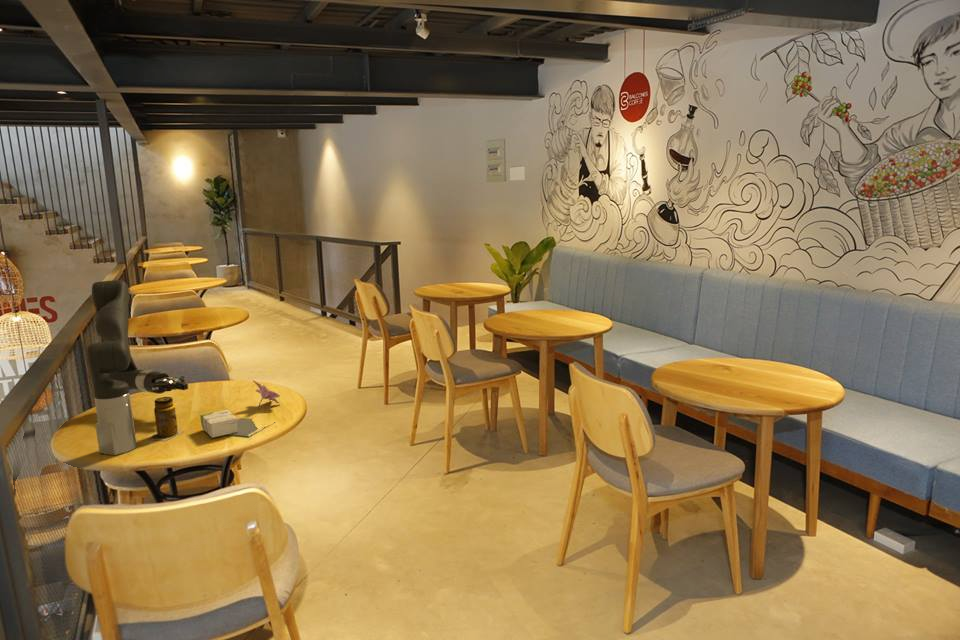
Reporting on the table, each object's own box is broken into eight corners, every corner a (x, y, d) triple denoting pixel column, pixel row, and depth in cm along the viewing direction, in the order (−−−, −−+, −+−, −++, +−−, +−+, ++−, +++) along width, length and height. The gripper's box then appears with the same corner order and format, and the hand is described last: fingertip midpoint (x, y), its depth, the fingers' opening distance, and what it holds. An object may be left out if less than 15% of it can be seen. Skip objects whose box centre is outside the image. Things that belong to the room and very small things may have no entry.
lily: (281, 413, 231) (288, 387, 233) (247, 405, 226) (255, 378, 228) (274, 414, 241) (281, 389, 244) (242, 407, 236) (249, 381, 239)
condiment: (184, 431, 213) (179, 396, 210) (165, 441, 205) (160, 404, 202) (165, 430, 215) (160, 395, 212) (146, 439, 207) (141, 403, 204)
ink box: (201, 428, 214) (211, 439, 204) (200, 414, 213) (209, 423, 203) (229, 422, 218) (239, 432, 209) (227, 408, 217) (237, 417, 208)
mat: (249, 437, 206) (249, 435, 206) (212, 433, 210) (212, 432, 210) (276, 422, 219) (275, 420, 219) (240, 418, 223) (240, 417, 223)
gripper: (133, 375, 223) (167, 380, 215) (168, 366, 234) (201, 371, 226) (136, 397, 224) (170, 402, 216) (170, 387, 235) (203, 392, 227)
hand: (186, 386), depth 221 cm, fingers closed
